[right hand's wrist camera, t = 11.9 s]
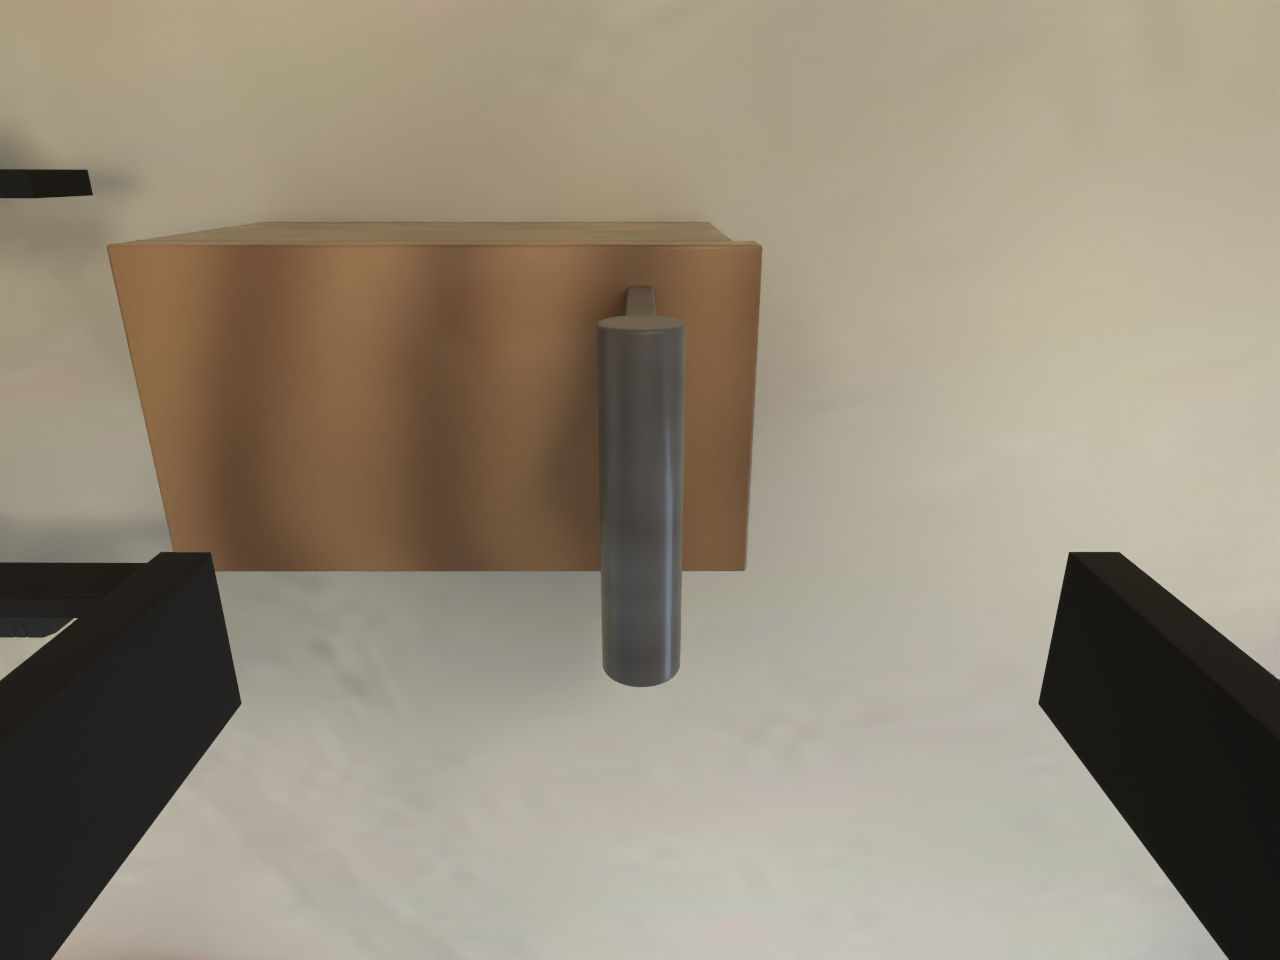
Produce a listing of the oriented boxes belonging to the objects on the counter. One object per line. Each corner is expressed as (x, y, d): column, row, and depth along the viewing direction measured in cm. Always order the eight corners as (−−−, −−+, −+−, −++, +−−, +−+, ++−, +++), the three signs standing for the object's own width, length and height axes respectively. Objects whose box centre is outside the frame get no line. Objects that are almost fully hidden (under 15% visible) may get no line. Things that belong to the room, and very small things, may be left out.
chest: (709, 222, 31) (734, 241, 23) (703, 464, 34) (722, 554, 26) (263, 222, 31) (131, 240, 23) (300, 464, 34) (197, 554, 26)
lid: (756, 240, 23) (819, 279, 15) (741, 554, 26) (786, 723, 18) (130, 241, 23) (-141, 279, 15) (196, 555, 26) (4, 723, 18)
